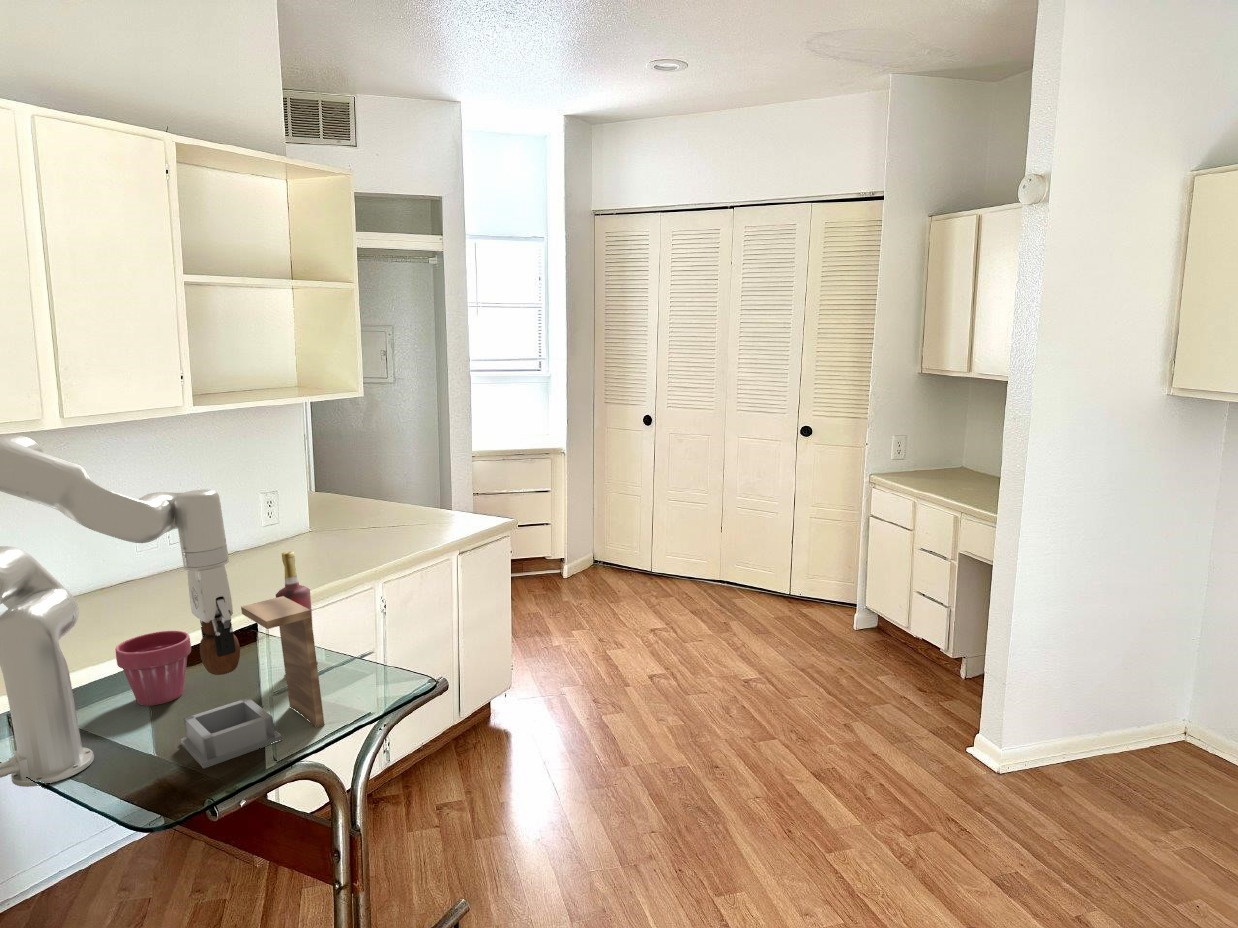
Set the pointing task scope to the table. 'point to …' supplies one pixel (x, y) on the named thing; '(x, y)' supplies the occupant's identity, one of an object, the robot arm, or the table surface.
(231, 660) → the wooden figurine
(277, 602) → the wooden l-shaped stand
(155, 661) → the plant pot
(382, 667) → the table surface
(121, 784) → the table surface
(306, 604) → the liquor
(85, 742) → the table surface
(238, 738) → the socket
